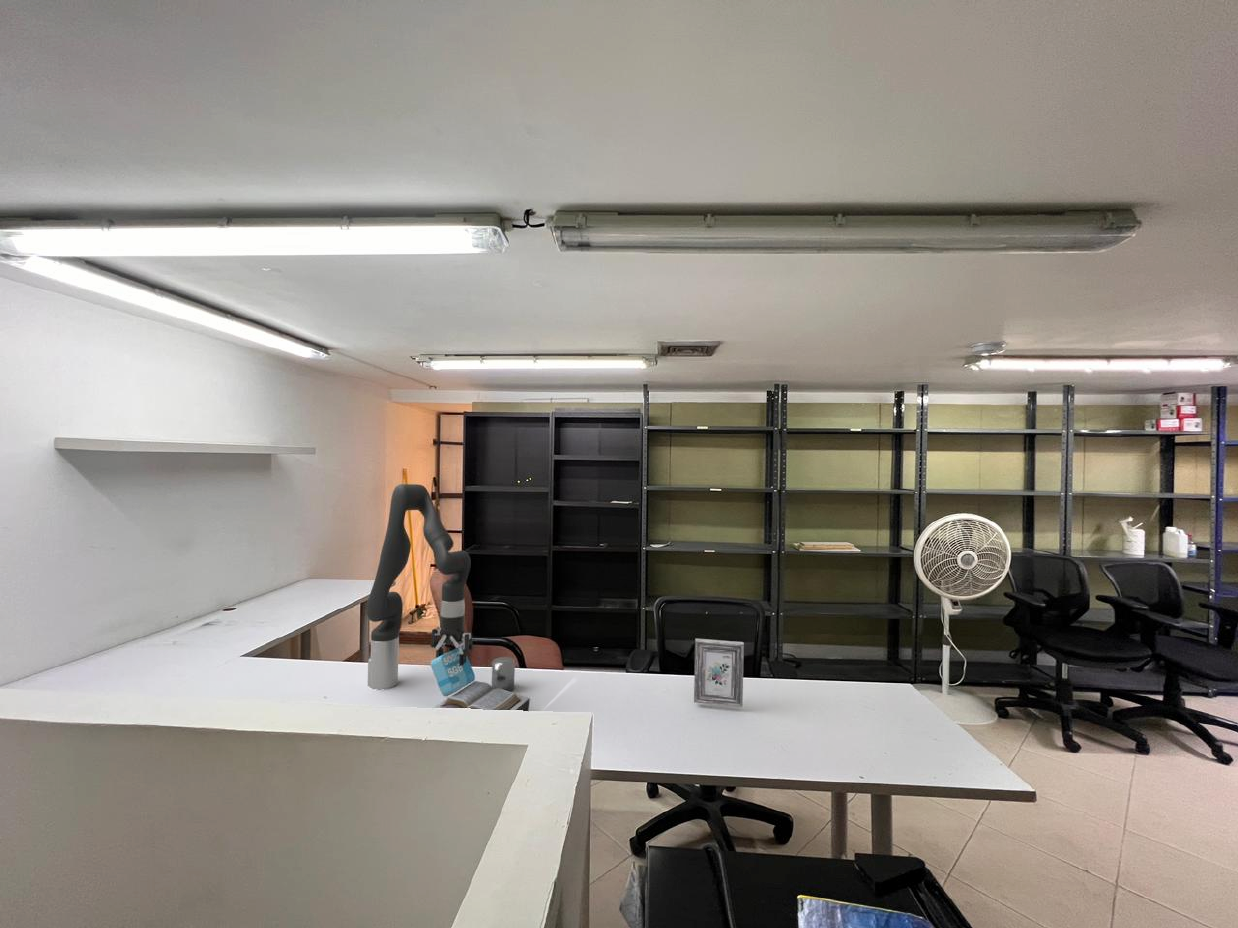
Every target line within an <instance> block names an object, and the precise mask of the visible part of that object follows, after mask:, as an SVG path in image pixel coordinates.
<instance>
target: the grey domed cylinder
mask: <svg viewBox="0 0 1238 928" xmlns="http://www.w3.org/2000/svg"><path fill="white" fill-rule="evenodd" d="M515 664H516V659H515V658H513V657H510V656H501V657H497V658H494V659H493V660H492V662H491V665H492V666H491V686H492V687H493V689H503V690H506V691H509V692H514V690H515V674H516V673H515V672H516V671H515V670H516V665H515Z"/></svg>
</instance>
